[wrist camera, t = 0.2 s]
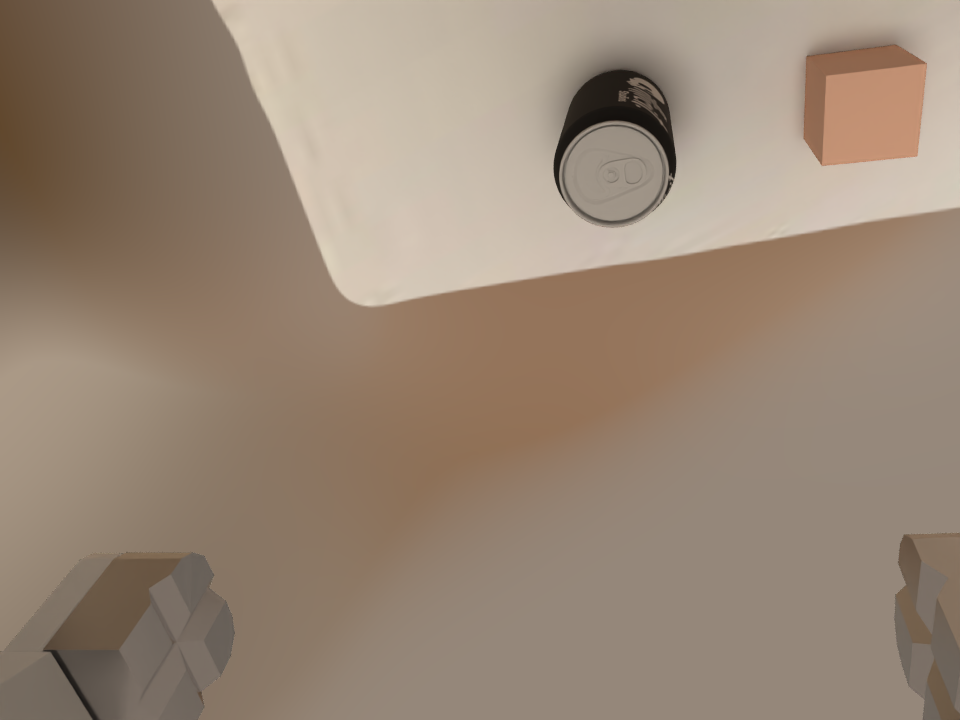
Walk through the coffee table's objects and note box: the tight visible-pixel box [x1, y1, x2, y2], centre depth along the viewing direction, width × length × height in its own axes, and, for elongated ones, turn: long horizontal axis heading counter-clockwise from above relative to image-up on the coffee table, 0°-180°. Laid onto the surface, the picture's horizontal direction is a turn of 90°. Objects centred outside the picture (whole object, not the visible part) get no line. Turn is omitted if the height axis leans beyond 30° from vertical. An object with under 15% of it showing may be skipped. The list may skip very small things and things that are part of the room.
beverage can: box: [554, 70, 676, 228], centre depth 48 cm, size 7×7×12 cm
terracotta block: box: [804, 45, 927, 166], centre depth 47 cm, size 5×5×6 cm
